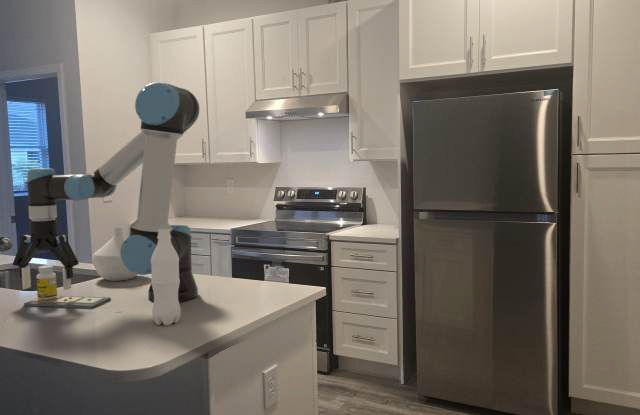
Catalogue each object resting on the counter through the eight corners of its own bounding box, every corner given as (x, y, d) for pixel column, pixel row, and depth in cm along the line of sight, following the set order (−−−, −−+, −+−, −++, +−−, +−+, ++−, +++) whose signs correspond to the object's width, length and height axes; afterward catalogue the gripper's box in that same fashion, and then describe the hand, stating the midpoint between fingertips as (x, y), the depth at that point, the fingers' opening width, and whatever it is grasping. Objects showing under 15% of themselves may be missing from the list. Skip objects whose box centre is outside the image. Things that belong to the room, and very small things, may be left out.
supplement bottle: (33, 299, 163) (31, 267, 162) (48, 295, 168) (46, 264, 167) (46, 300, 161) (44, 268, 160) (61, 296, 166) (59, 265, 165)
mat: (110, 299, 167) (110, 295, 166) (92, 308, 157) (92, 304, 157) (45, 297, 170) (45, 293, 170) (24, 306, 160) (23, 301, 160)
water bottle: (165, 328, 137) (162, 231, 135) (146, 324, 141) (143, 229, 139) (186, 321, 143) (184, 228, 141) (167, 317, 147) (165, 226, 145)
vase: (155, 277, 200) (153, 226, 199) (108, 286, 186) (106, 231, 185) (129, 271, 212) (128, 223, 211) (84, 278, 198) (81, 227, 197)
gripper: (88, 218, 164) (91, 286, 166) (14, 218, 168) (18, 285, 169) (73, 220, 157) (77, 292, 158) (-3, 220, 160) (1, 290, 162)
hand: (47, 288), depth 164 cm, fingers open, 13 cm apart
